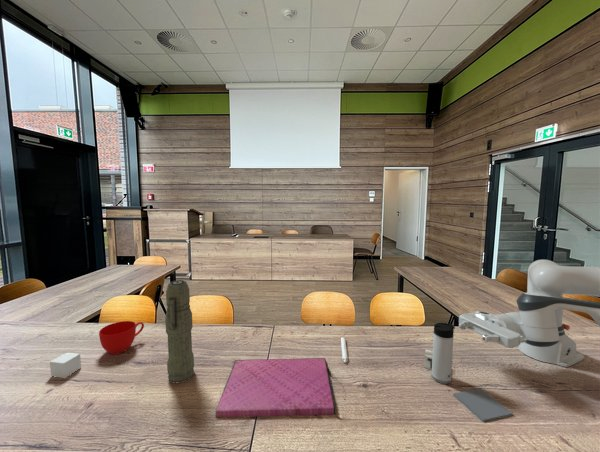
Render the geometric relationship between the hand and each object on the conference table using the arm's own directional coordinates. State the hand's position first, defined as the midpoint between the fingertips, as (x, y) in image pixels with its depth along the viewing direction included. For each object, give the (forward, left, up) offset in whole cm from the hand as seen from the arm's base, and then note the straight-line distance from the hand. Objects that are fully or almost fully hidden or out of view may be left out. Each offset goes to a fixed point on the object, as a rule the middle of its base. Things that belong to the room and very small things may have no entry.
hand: (471, 332), depth 97 cm
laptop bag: (+68, -10, -17) cm, 71 cm away
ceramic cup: (+132, -48, -16) cm, 141 cm away
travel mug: (+12, 0, -16) cm, 20 cm away
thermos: (+104, -23, -16) cm, 108 cm away
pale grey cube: (+146, -34, -16) cm, 151 cm away
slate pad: (+9, +13, -16) cm, 23 cm away
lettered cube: (+10, -7, -16) cm, 20 cm away
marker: (+40, -24, -17) cm, 49 cm away
